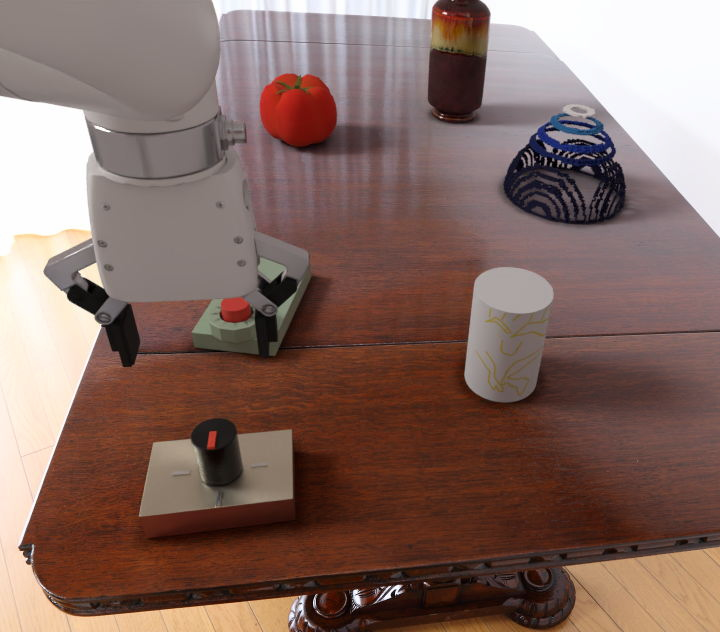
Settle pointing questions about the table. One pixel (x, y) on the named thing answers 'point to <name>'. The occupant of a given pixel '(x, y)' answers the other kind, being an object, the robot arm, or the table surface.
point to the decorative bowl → (577, 165)
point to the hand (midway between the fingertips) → (200, 351)
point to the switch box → (243, 334)
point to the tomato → (298, 109)
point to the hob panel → (219, 487)
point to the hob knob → (217, 451)
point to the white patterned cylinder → (507, 333)
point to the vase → (458, 58)
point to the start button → (235, 310)
